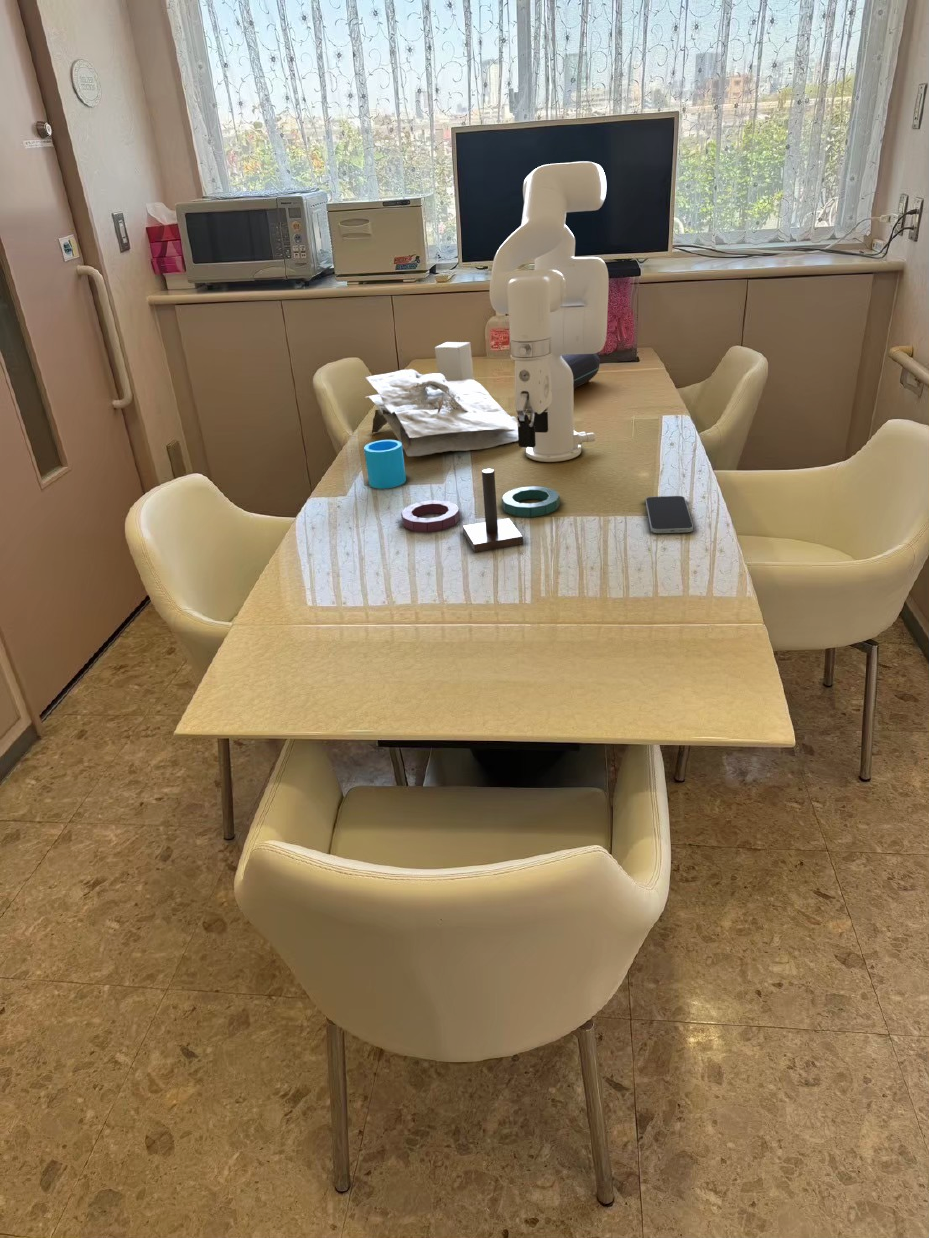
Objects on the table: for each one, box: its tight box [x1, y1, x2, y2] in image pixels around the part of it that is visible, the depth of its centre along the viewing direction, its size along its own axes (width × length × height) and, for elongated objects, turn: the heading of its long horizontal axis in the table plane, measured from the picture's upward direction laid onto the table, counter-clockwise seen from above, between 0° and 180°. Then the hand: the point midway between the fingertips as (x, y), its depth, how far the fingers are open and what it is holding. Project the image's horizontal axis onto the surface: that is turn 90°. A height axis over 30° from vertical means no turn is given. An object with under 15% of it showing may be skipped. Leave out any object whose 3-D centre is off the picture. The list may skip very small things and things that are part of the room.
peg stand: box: [462, 468, 524, 553], centre depth 148 cm, size 9×9×13 cm
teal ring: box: [501, 485, 561, 518], centre depth 163 cm, size 11×11×2 cm
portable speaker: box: [561, 353, 600, 390], centre depth 234 cm, size 25×10×10 cm, turn 144°
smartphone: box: [645, 495, 694, 534], centre depth 153 cm, size 7×1×15 cm
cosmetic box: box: [434, 341, 475, 381], centre depth 232 cm, size 8×7×16 cm
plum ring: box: [400, 499, 461, 533], centre depth 161 cm, size 11×11×2 cm
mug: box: [363, 439, 407, 489], centre depth 181 cm, size 12×8×8 cm
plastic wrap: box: [365, 368, 518, 457], centre depth 206 cm, size 35×16×32 cm
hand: (533, 439), depth 161 cm, fingers open, 9 cm apart
